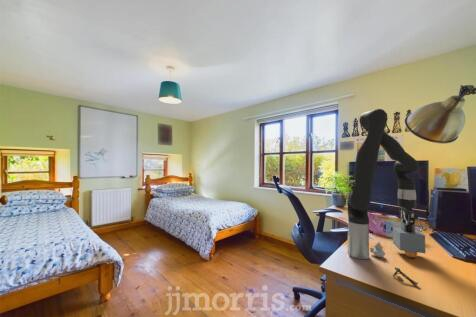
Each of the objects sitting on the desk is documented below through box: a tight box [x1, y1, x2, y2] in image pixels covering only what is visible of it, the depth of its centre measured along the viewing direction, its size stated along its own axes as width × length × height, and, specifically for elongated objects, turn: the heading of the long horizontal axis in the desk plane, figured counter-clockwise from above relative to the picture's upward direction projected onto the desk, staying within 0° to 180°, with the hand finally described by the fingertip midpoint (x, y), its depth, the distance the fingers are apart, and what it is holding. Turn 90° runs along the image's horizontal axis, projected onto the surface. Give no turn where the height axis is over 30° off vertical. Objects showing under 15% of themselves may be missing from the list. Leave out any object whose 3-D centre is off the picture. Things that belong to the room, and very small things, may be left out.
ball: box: [403, 251, 418, 259], centre depth 105 cm, size 5×5×5 cm
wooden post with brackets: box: [392, 266, 419, 288], centre depth 83 cm, size 2×8×4 cm, turn 30°
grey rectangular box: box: [392, 222, 426, 254], centre depth 107 cm, size 10×10×12 cm
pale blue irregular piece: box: [369, 241, 386, 258], centre depth 106 cm, size 5×7×8 cm
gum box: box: [368, 211, 411, 239], centre depth 137 cm, size 24×8×14 cm, turn 40°
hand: (407, 230), depth 107 cm, fingers closed on grey rectangular box, 4 cm apart
